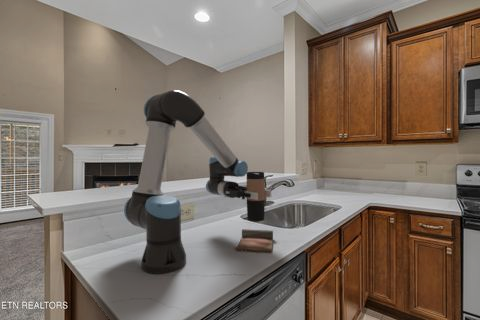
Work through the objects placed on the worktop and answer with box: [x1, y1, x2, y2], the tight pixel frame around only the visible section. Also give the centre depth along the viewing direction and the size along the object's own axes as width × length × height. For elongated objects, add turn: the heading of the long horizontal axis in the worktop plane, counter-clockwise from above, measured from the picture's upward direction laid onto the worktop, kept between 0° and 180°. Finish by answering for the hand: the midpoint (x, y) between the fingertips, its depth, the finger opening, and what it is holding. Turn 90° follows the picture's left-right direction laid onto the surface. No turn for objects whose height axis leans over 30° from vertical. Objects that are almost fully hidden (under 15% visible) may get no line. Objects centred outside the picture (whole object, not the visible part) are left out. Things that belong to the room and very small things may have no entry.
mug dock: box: [235, 228, 274, 254], centre depth 101 cm, size 15×14×4 cm
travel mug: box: [246, 171, 266, 223], centre depth 101 cm, size 8×8×20 cm
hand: (264, 195), depth 97 cm, fingers closed on travel mug, 7 cm apart
